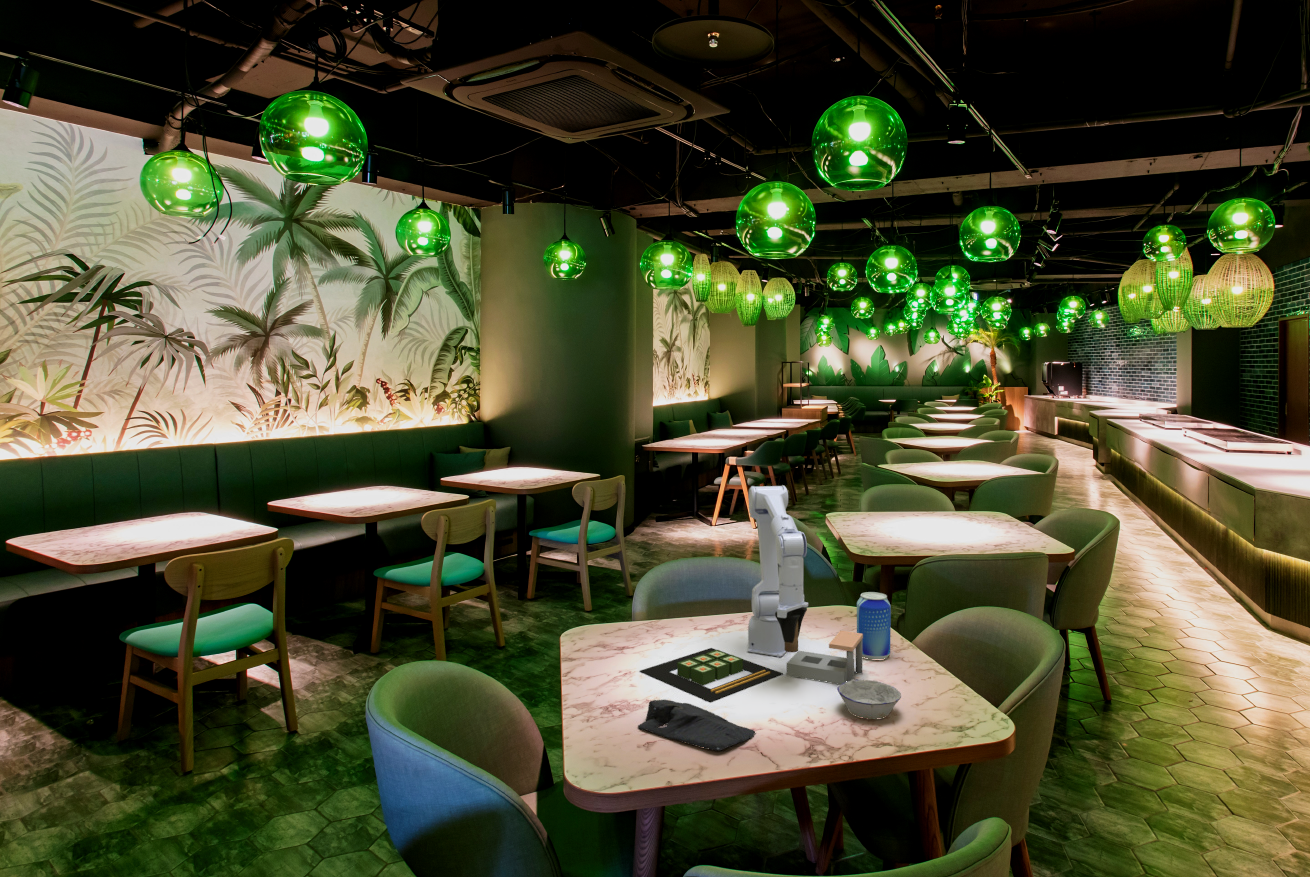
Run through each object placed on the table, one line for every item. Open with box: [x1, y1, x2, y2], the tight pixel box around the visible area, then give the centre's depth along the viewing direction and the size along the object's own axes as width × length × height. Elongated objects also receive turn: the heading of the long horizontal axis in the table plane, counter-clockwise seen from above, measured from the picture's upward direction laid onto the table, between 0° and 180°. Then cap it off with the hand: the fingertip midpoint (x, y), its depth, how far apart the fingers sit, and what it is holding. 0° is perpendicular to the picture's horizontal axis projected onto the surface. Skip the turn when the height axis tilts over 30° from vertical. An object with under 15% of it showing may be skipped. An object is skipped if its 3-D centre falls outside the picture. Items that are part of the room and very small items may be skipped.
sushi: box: [639, 647, 784, 703], centre depth 179 cm, size 25×25×4 cm
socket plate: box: [786, 650, 847, 685], centre depth 178 cm, size 14×10×3 cm
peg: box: [785, 622, 799, 653], centre depth 173 cm, size 3×3×7 cm
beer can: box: [856, 591, 892, 660], centre depth 189 cm, size 8×8×16 cm
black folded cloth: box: [637, 699, 756, 752], centre depth 148 cm, size 15×22×5 cm
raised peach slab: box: [828, 630, 863, 681], centre depth 175 cm, size 6×11×10 cm, turn 152°
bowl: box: [836, 678, 902, 720], centre depth 156 cm, size 13×13×5 cm
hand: (791, 639), depth 173 cm, fingers closed on peg, 3 cm apart
